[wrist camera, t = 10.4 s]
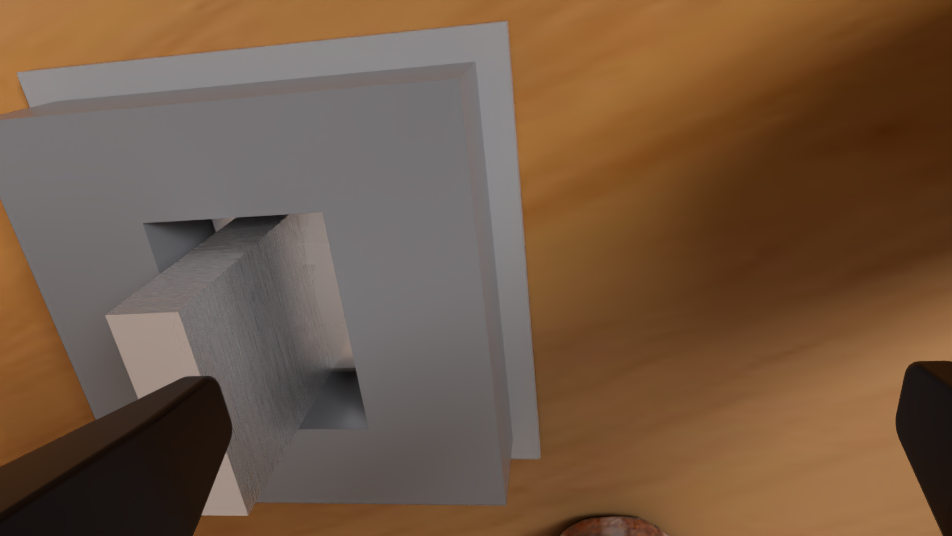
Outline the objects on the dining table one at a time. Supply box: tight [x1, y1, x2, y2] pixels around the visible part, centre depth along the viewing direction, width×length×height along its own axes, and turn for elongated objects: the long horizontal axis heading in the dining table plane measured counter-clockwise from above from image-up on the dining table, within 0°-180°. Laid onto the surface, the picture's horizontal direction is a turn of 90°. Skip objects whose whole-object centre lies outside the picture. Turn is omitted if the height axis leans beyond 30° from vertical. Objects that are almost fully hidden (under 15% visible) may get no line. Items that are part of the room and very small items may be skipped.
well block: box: [0, 21, 541, 505], centre depth 21 cm, size 16×16×4 cm
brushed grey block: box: [105, 212, 355, 516], centre depth 19 cm, size 4×6×8 cm, turn 6°
